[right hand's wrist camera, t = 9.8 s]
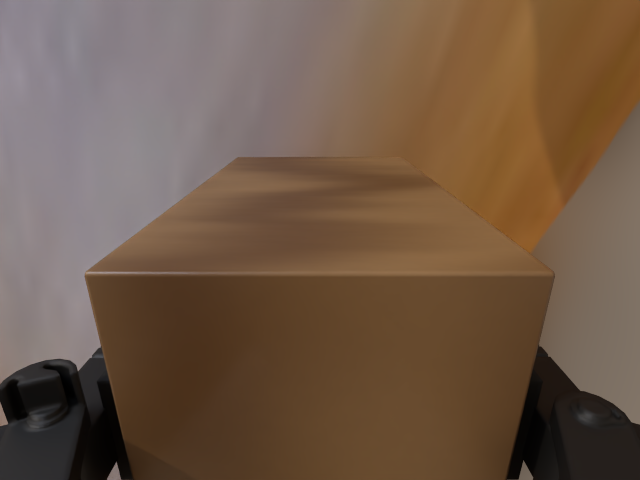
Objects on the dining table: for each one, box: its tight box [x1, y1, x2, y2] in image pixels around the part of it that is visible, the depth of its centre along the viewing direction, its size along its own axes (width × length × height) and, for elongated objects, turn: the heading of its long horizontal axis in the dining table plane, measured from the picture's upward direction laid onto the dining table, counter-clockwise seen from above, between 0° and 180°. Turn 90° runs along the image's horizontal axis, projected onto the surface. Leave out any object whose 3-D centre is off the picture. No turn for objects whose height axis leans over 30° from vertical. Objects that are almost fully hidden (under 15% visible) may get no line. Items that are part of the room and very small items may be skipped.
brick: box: [85, 157, 555, 480], centre depth 13 cm, size 7×8×12 cm
